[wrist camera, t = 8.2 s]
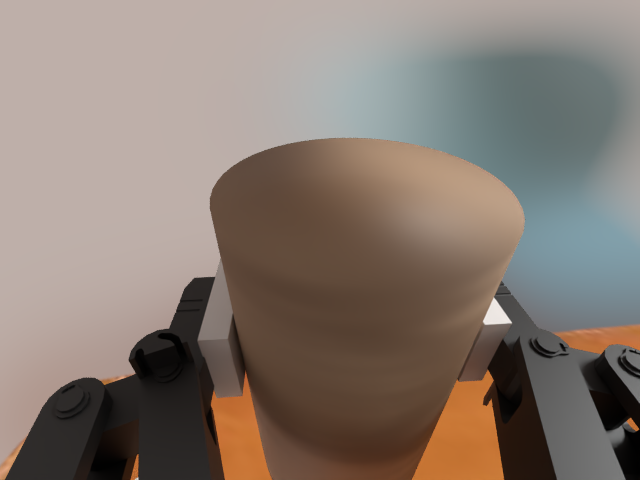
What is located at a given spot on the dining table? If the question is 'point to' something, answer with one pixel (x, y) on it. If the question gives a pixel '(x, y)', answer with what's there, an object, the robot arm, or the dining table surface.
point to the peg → (358, 295)
